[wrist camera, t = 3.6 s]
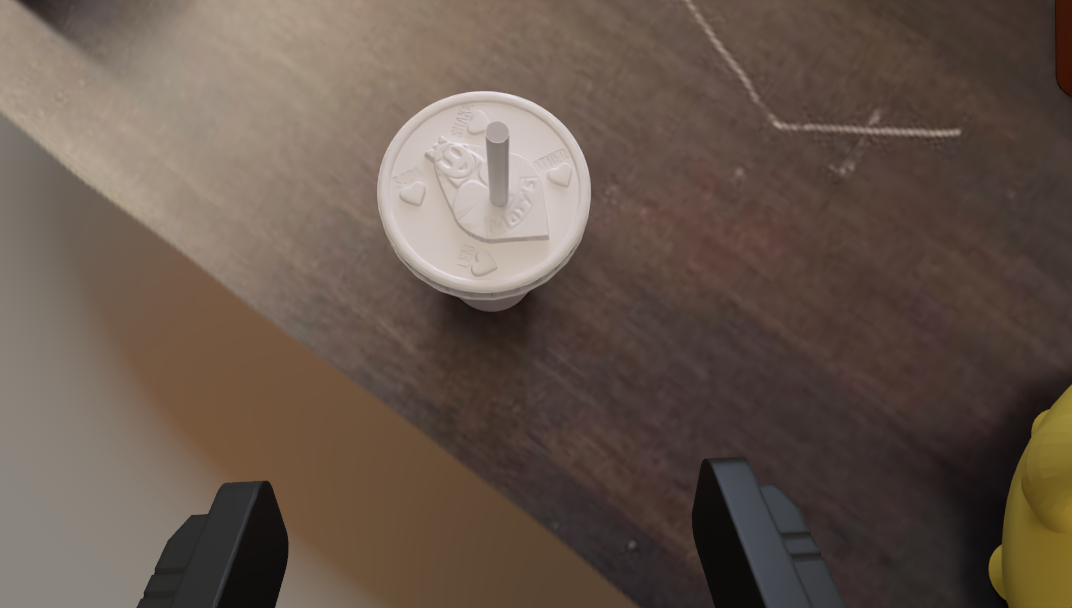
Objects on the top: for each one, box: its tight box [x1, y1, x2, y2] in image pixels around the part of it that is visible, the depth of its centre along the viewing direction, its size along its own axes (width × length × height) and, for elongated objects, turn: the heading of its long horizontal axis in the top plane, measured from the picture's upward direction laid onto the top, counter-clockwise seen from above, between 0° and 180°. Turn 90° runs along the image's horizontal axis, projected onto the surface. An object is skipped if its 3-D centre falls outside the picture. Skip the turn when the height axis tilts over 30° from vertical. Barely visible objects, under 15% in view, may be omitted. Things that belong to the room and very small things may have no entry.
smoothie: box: [377, 91, 591, 312], centre depth 22 cm, size 6×6×14 cm
